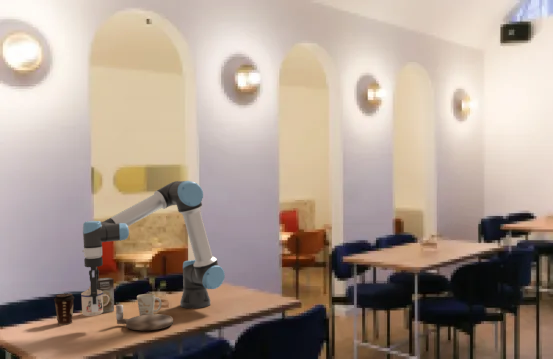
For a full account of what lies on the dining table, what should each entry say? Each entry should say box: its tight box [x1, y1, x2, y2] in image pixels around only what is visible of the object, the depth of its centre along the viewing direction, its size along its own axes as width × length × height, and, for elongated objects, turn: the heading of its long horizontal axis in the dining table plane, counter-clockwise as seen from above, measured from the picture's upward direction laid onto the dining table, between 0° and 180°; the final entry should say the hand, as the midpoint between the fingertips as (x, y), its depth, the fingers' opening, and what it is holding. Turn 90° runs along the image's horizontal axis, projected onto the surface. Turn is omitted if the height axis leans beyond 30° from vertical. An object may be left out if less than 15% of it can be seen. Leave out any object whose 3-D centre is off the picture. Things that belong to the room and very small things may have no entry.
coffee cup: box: [53, 292, 75, 326], centre depth 274 cm, size 9×8×13 cm
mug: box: [136, 293, 163, 316], centre depth 284 cm, size 8×13×10 cm, turn 137°
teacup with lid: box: [80, 285, 109, 317], centre depth 260 cm, size 12×9×12 cm
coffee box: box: [98, 277, 115, 314], centre depth 295 cm, size 9×6×16 cm
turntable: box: [115, 304, 174, 331], centre depth 264 cm, size 24×20×8 cm
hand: (95, 309), depth 260 cm, fingers closed on teacup with lid, 9 cm apart
